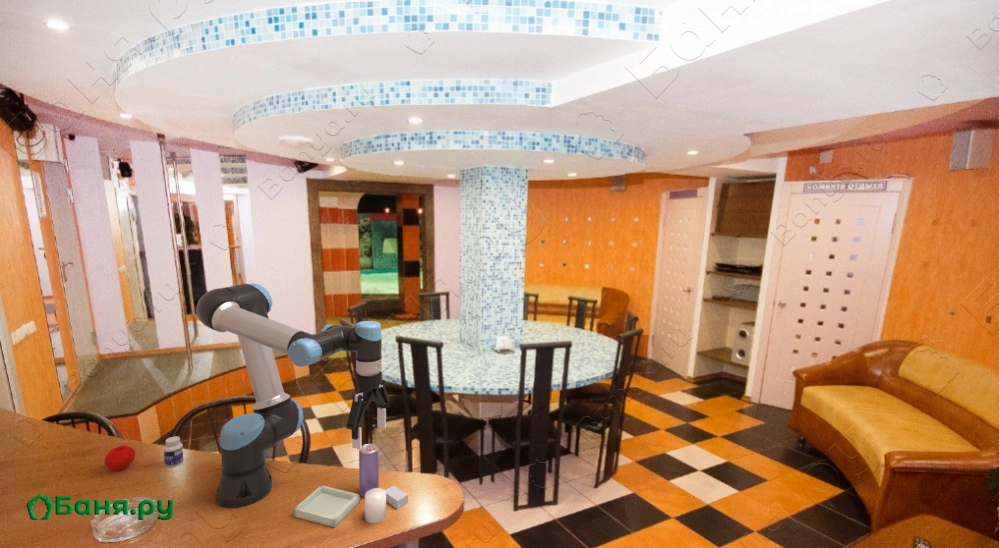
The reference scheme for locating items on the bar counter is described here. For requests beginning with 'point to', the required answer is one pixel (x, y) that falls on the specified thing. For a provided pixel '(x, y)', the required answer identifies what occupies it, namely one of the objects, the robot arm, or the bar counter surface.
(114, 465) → the apple
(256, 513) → the bar counter surface
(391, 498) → the pale rectangular cuboid
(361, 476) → the beverage can
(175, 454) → the pill bottle
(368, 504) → the white rounded capsule
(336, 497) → the tray
